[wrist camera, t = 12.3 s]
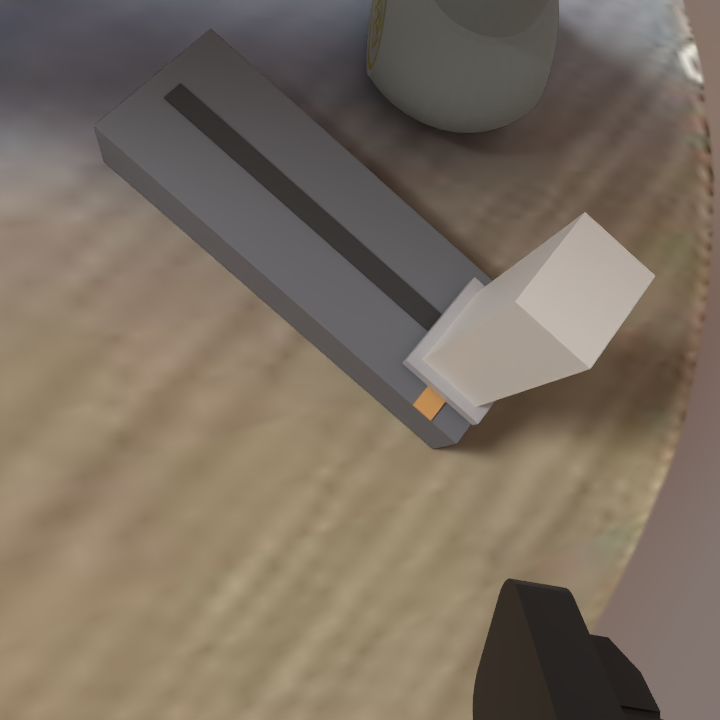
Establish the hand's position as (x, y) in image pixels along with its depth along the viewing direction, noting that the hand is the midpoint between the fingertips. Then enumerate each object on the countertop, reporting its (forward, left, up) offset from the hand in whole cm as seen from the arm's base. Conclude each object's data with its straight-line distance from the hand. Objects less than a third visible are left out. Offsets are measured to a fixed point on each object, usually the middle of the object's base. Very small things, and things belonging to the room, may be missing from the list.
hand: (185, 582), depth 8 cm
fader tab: (+4, +13, -17) cm, 21 cm away
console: (-4, +13, -20) cm, 24 cm away
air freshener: (-6, +26, -20) cm, 33 cm away
